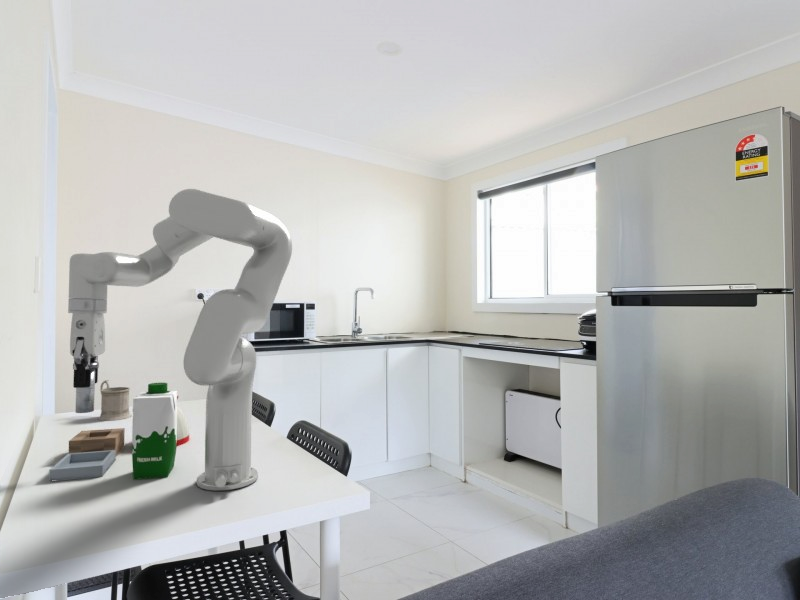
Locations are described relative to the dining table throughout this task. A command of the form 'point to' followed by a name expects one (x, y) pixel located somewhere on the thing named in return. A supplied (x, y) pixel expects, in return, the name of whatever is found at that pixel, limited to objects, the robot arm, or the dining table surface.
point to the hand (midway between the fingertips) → (85, 384)
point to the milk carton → (154, 432)
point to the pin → (86, 393)
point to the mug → (114, 403)
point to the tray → (83, 465)
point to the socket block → (98, 441)
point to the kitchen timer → (181, 428)
